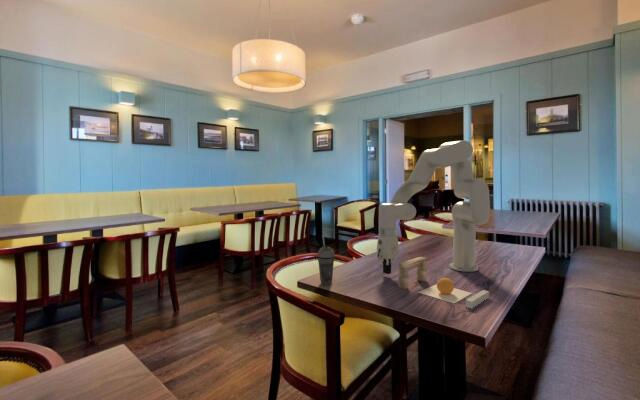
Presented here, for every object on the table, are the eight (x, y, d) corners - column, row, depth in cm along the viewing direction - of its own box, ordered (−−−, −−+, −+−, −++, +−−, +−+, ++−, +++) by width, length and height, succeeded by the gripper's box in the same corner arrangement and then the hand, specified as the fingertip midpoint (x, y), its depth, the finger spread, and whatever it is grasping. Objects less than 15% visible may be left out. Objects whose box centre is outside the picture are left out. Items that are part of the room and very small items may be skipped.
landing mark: (437, 284, 133) (437, 283, 133) (472, 293, 123) (472, 293, 123) (418, 292, 124) (418, 292, 124) (454, 303, 114) (454, 303, 114)
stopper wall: (483, 296, 120) (483, 289, 120) (488, 298, 118) (489, 291, 118) (465, 307, 111) (465, 300, 111) (471, 309, 109) (471, 301, 109)
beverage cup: (333, 287, 131) (333, 238, 129) (315, 286, 132) (315, 237, 130) (336, 281, 138) (336, 234, 136) (319, 280, 139) (318, 234, 138)
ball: (459, 282, 122) (454, 296, 123) (445, 274, 126) (440, 287, 127) (450, 284, 118) (445, 298, 119) (436, 275, 122) (431, 289, 124)
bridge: (398, 287, 130) (399, 263, 129) (419, 278, 140) (420, 256, 139) (405, 289, 128) (405, 264, 127) (426, 280, 138) (426, 257, 137)
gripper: (383, 235, 134) (383, 278, 136) (404, 230, 144) (404, 271, 146) (369, 232, 140) (369, 274, 142) (390, 228, 150) (390, 267, 151)
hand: (387, 273), depth 144 cm, fingers closed
